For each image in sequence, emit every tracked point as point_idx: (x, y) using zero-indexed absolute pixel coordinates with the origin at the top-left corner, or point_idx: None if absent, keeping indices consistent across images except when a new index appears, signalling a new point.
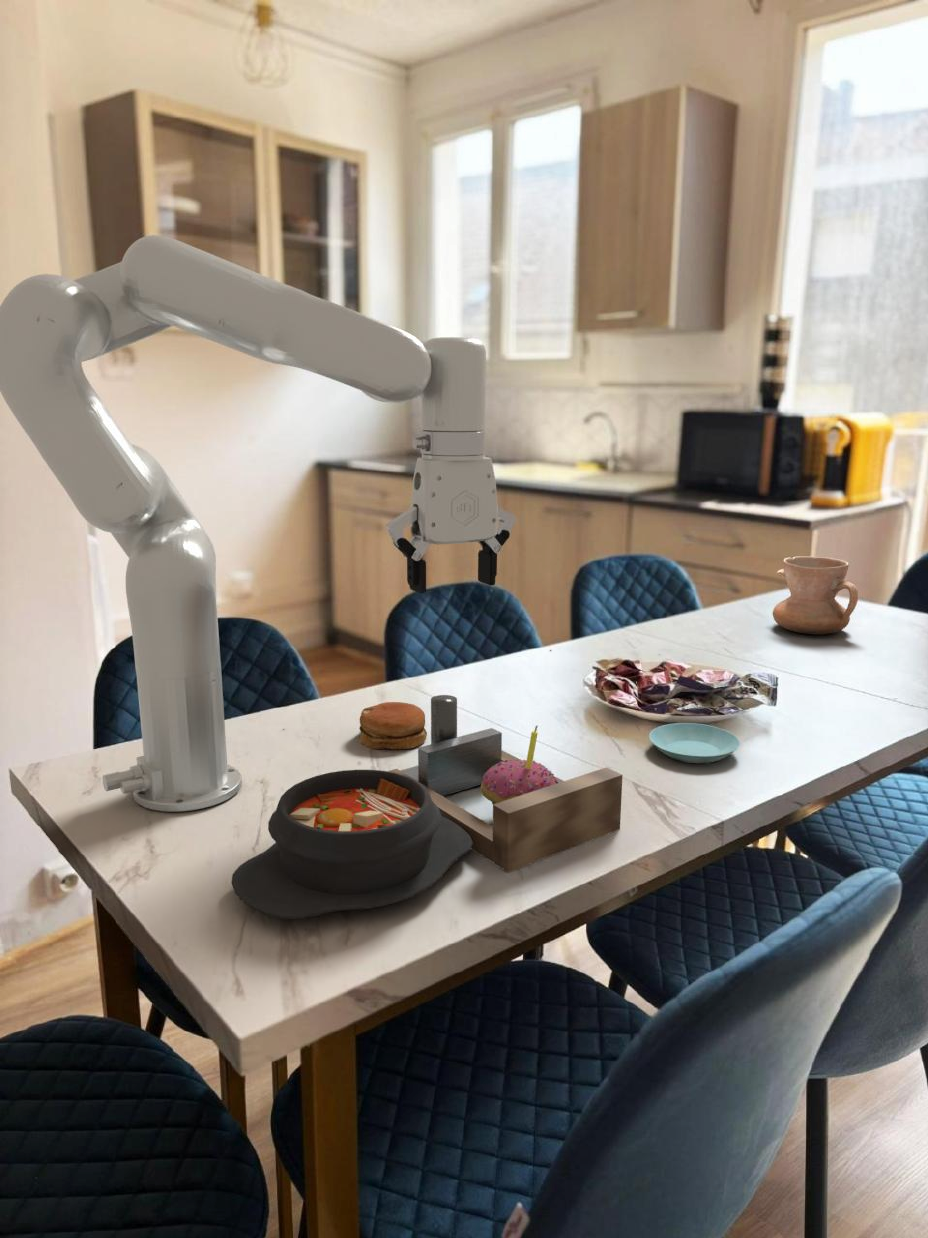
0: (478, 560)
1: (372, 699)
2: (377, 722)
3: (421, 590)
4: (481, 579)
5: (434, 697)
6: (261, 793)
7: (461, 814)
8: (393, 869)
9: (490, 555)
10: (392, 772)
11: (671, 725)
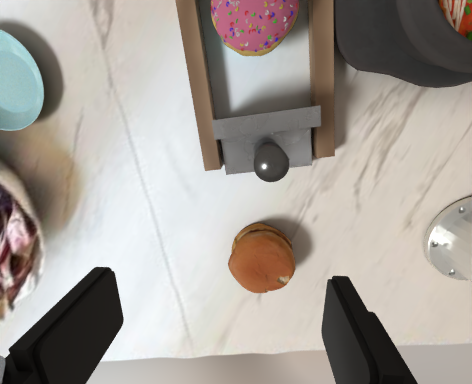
0: (86, 380)
1: (234, 334)
2: (287, 253)
3: (349, 279)
4: (117, 312)
5: (278, 177)
6: (422, 202)
7: (322, 16)
8: None
9: (37, 350)
10: (433, 11)
11: (3, 127)
